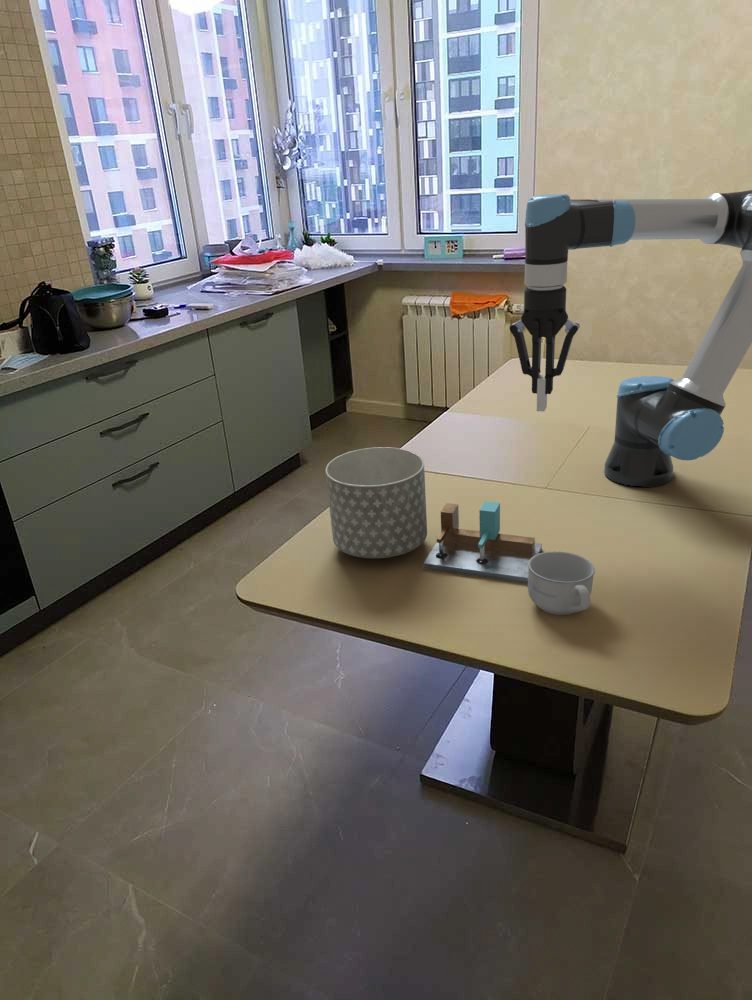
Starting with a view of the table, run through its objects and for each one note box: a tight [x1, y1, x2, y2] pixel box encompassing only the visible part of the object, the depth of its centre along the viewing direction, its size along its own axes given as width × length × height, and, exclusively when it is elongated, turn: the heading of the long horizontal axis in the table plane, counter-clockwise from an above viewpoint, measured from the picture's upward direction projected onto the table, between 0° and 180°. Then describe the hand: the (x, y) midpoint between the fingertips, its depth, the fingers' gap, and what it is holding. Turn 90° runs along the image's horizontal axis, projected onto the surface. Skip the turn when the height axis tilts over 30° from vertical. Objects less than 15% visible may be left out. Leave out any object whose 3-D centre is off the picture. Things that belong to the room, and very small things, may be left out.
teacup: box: [527, 550, 596, 616], centre depth 121 cm, size 14×11×8 cm
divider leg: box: [478, 500, 501, 560], centre depth 137 cm, size 3×9×8 cm, turn 158°
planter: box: [325, 446, 428, 559], centre depth 142 cm, size 19×19×18 cm
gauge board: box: [423, 502, 543, 584], centre depth 137 cm, size 20×13×9 cm, turn 68°
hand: (541, 409), depth 142 cm, fingers closed
